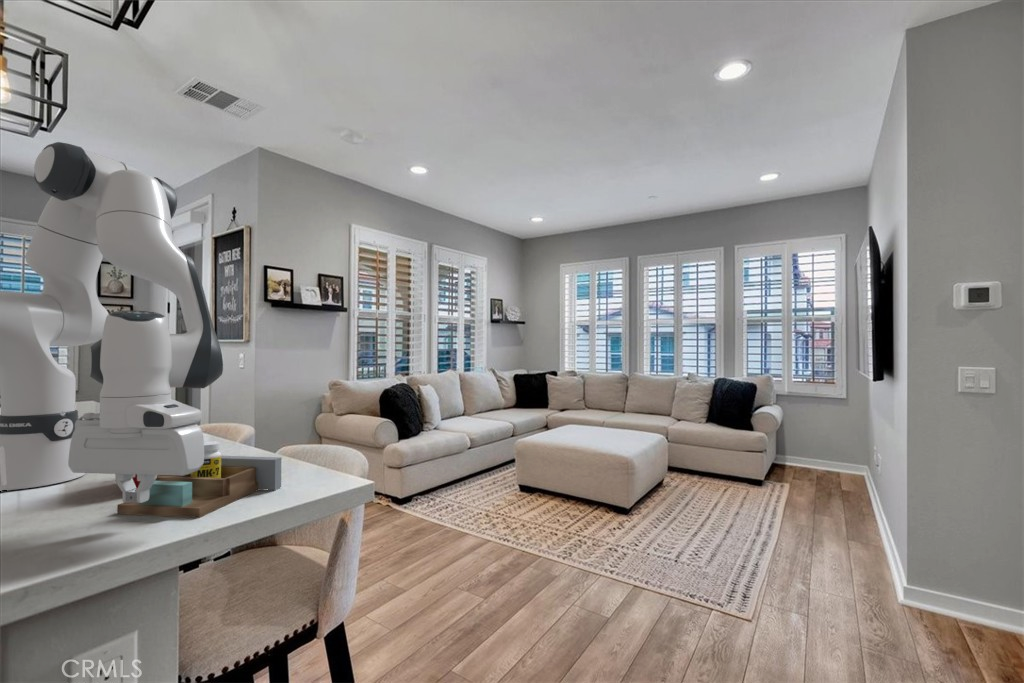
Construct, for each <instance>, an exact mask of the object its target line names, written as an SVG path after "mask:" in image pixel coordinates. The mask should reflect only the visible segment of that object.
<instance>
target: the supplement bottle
mask: <svg viewBox="0 0 1024 683" xmlns="http://www.w3.org/2000/svg"><path fill="white" fill-rule="evenodd" d="M219 450H220V442H219V441H215V440H214V441H212V440H209V441H204V463H203V465H202V466H201V468H200V469H199V470H198V471H196V472H193V473H191V477H206V478H221V456H222V453H221V452H220V451H219Z"/></svg>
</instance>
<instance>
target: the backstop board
mask: <svg viewBox="0 0 1024 683" xmlns="http://www.w3.org/2000/svg"><path fill="white" fill-rule="evenodd" d="M221 466H242V467H256V482H258V489H268V490H267V491H272V490H275V491H277V490H279V489H281V488H282V457H280V456H279V457H277V456H276V457H275V456H245V455H244V456H243V455H242V456H241V455H237V456H236V455H221ZM280 487H281V488H280ZM278 488H279V489H278ZM276 489H277V490H276Z"/></svg>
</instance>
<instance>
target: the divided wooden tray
mask: <svg viewBox="0 0 1024 683" xmlns="http://www.w3.org/2000/svg"><path fill="white" fill-rule="evenodd" d="M256 490H257V491H259V490H258V482H256V467H242V466H221V478H206V477H191V473H190V474H187V475H183V476H180V475H157V478H156V480H155V482H154V483H153V485H152V486H151V488H150V489H149V499H148V500H147V501H145V502H142V503H133V502H121V503H118V504H116V505H117V506H116V507H117V508H116V510H117V515H133V516H137V515H139V516H157V517H158V516H159V517H180V518H201V517H204V516H206V515H208V514H210V513H213V512H214V511H217V510H218V509H222V508H223V507H225V506H227V505H230V504H231V503H234V502H236V501H238V500H240V499H243V498H244V497H246V495H247V496H248V494H249V495H251V494H253V493H254V491H255V492H257V491H256ZM252 492H253V493H252ZM250 493H251V494H250Z"/></svg>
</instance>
